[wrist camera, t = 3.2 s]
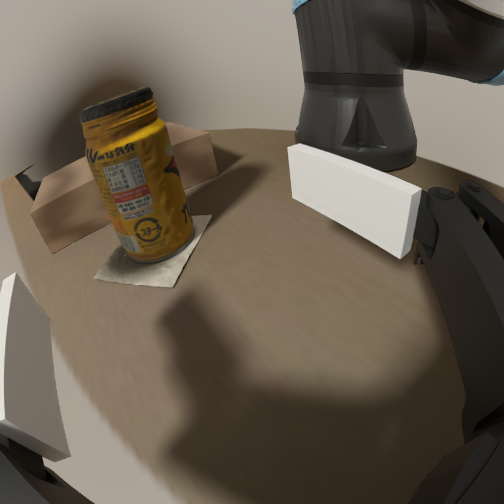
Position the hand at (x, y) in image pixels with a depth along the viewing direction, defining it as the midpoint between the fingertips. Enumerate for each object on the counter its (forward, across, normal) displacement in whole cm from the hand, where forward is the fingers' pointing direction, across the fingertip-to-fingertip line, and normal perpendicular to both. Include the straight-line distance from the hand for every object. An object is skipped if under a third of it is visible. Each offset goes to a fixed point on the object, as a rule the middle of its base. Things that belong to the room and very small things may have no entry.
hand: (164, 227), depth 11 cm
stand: (+25, 0, -6) cm, 25 cm away
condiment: (+10, 0, -7) cm, 12 cm away
